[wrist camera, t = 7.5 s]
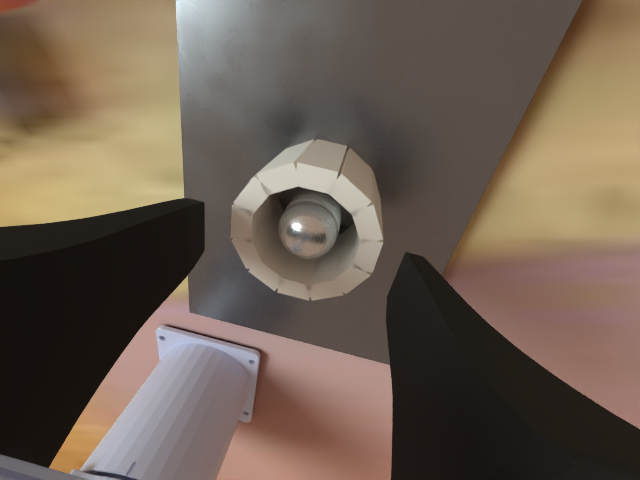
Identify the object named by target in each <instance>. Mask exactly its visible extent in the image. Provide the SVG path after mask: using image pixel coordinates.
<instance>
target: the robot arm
mask: <svg viewBox="0 0 640 480" xmlns="http://www.w3.org/2000/svg"><path fill="white" fill-rule="evenodd" d="M204 251H205V202H202V201H198V200H194V199H190V198H183V199H176V200H171V201H166V202H161V203H157V204H152V205H148V206H143V207H139V208H134V209H130V210H125V211H120V212H115V213H110V214H105V215H100V216H95V217H89V218H83V219H76V220H69V221H61V222H53V223H45V224H34V225H21V226H8V227H0V480H216V479H217V476H218V473H219V471H220V468H221V466H222V463H223V460H224V458H225V455H226V453H227V450H228V447H229V445H230V442H231V440H232V437H233V434H234V432H235V429H236V427H237V424H238V421H242V422H246V423H248V422H250V421H251V419H252V414H253V407H254V400H255V392H256V385H257V378H258V371H259V364H260V357H261V355H260V353H259V352H258V351H257V350H254V349H251V348H247V347H243V346H239V345H236V344H232V343H228V342H224V341H221V340H217V339H213V338H209V337H205V336H202V335H198V334H194V333H190V332H187V331H183V330H179V329H175V328H172V327H168V326H163V325H161V326H159V327H158V328H157V330H156V336H157V344H158V351H159V359H160V362H159V363H158V365H157V366H156V367H155V369H154V370H153V371H152V373H151V374H150V375H149V377H148V378H147V379H146V381H145V382H144V384H143V385H142V386H141V388H140V389H139V390H138V392H137V393H136V394H135V396H134V397H133V398H132V400H131V401H130V402H129V404H128V405H127V407H126V408H125V409H124V411H123V412H122V413H121V415H120V416H119V417H118V419H117V420H116V421H115V423H114V424H113V425H112V427H111V428H110V430H109V431H108V432H107V434H106V435H105V436H104V438H103V439H102V440H101V442H100V443H99V444H98V446H97V447H96V448H95V450H94V451H93V453H92V454H91V455H90V457H89V458H88V459H87V461H86V462H85V463H84V465H83V466H82V467H81V469H80V470H77V469H73V470H72V471H71V473H70V474H67V473H64V472H60V471H57V470H53V469H50V468H49V466H50V465H51V463H52V461H53V459H54V458H55V456H56V454H57V453H58V451H59V449H60V448H61V446H62V444H63V443H64V441H65V439H66V438H67V436H68V434H69V433H70V431H71V429H72V428H73V426H74V424H75V423H76V421H77V419H78V418H79V416H80V415H81V413H82V412H83V410H84V409H85V407H86V406H87V404H88V402H89V401H90V399H91V398H92V396H93V395H94V393H95V392H96V390H97V389H98V387H99V385H100V384H101V382H102V381H103V380H104V378H105V377H106V375H107V374H108V372H109V371H110V369H111V368H112V367H113V365H114V364H115V362H116V361H117V359H118V358H119V356H120V355H121V354H122V352H123V351H124V349H125V348H126V347H127V345H128V344H129V343H130V341H131V340H132V339H133V337H134V336H135V335H136V333H137V332H138V330H139V329H140V328H141V327H142V326H143V324H144V323H145V322H146V321H147V320H148V318H149V317H150V316H151V315H152V314H153V313H154V312H155V311H156V310H157V308H158V307H159V306H160V305H161V304H162V303H163V302H164V301H165V300H166V299H167V298H168V296H169V295H170V294H171V293H172V292H173V291H174V290H175V289H176V288H177V287H178V285H179V284H180V283H181V282H182V281H183V280H184V279H185V278H186V277H187V275H188V274H189V273H190V272H191V271H192V269H193V268H194V266H195V265H196V263H197V262H198V260H199V259H200V257H201V256H202V254H203V253H204ZM386 328H387V339H388V349H389V358H390V368H391V378H392V393H393V431H392V470H391V480H640V429H638V428H637V427H635V426H633V425H632V424H630V423H628V422H626V421H625V420H623V419H621V418H620V417H618V416H616V415H614V414H613V413H611V412H610V411H608V410H606V409H605V408H603V407H602V406H600V405H599V404H597V403H595V402H594V401H592V400H591V399H589V398H588V397H586V396H585V395H583V394H581V393H580V392H578V391H577V390H575V389H574V388H572V387H571V386H569V385H568V384H566V383H565V382H563V381H562V380H561V379H559V378H558V377H556V376H555V375H553V374H552V373H550V372H549V371H548V370H546V369H545V368H544V367H542V366H541V365H539V364H538V363H537V362H535V361H534V360H533V359H531V358H530V357H529V356H527V355H526V354H525V353H523V352H522V351H521V350H519V349H518V348H517V347H516V346H514V345H513V344H512V343H511V342H510V341H508V340H507V339H506V338H505V337H504V336H502V335H501V334H500V333H499V332H498V331H496V330H495V329H494V328H493V327H492V326H491V325H490V324H488V323H487V322H486V321H485V320H484V319H483V318H482V317H481V316H480V315H479V314H478V313H477V312H476V311H475V310H474V309H473V308H472V307H471V306H470V305H468V304H467V302H466V301H465V300H464V299H463V298H462V297H461V296H460V295H459V294H458V293H457V292H456V291H455V290H454V289H453V288H452V287H451V286H450V285H449V283H448V282H447V281H446V280H445V279H444V278H443V277H442V276H441V275H440V273H439V272H438V271H437V270H436V269H435V268H434V267H433V266H432V265H431V264H430V263H429V262H428V261H427V260H426V259H425V258H424V257H423V256H420V255H416V254H412V253H408V252H405V254H404V256H403V259H402V261H401V264H400V266H399V269H398V271H397V273H396V276H395V278H394V281H393V283H392V286H391V288H390V290H389V293H388V295H387V305H386Z"/></svg>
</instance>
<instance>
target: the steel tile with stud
mask: <svg viewBox="0 0 640 480" xmlns="http://www.w3.org/2000/svg"><path fill="white" fill-rule="evenodd" d="M581 2H582V0H176V17H177V39H178V62H179V84H180V107H181V129H182V152H183V174H184V197H185V198H190V199H194V200H198V201H202V202H205V251H204V253H203V254H202V256H201V257H200V259H199V260H198V262H197V263H196V265H195V266H194V268H193V269H192V271H191V272H190V273H189V274H188V287H189V309H190V312H191V313H194V314H198V315H202V316H206V317H210V318H213V319H217V320H221V321H225V322H229V323H232V324H236V325H240V326H244V327H248V328H251V329H255V330H259V331H263V332H267V333H270V334H274V335H278V336H282V337H286V338H290V339H293V340H297V341H301V342H305V343H309V344H312V345H316V346H320V347H324V348H328V349H331V350H335V351H339V352H343V353H347V354H350V355H354V356H358V357H362V358H366V359H369V360H373V361H377V362H381V363H385V364H388V365H390V358H389V349H388V339H387V328H386V305H387V295H388V293H389V290H390V288H391V286H392V283H393V281H394V278H395V276H396V273H397V271H398V269H399V266H400V264H401V261H402V259H403V256H404V254H405V252H408V253H412V254H416V255H420V256H423V257H424V258H425V259H426V260H427V261H428V262H429V263H430V264H431V265H432V266H433V267H434V268H435V269H436V270H437V271H438V272H439V273H440V275H442V273H443V271H444V269H445V267H446V265H447V263H448V261H449V259H450V257H451V255H452V254H453V252H454V250H455V248H456V246H457V244H458V242H459V240H460V238H461V236H462V234H463V232H464V230H465V228H466V226H467V224H468V222H469V220H470V218H471V216H472V215H473V213H474V211H475V209H476V207H477V205H478V203H479V201H480V199H481V197H482V195H483V193H484V191H485V189H486V187H487V185H488V183H489V181H490V179H491V177H492V176H493V174H494V172H495V170H496V168H497V166H498V164H499V162H500V160H501V158H502V156H503V154H504V152H505V150H506V148H507V146H508V144H509V142H510V140H511V138H512V137H513V135H514V133H515V131H516V129H517V127H518V125H519V123H520V121H521V119H522V117H523V115H524V113H525V111H526V109H527V107H528V105H529V103H530V101H531V99H532V98H533V96H534V94H535V92H536V90H537V88H538V86H539V84H540V82H541V80H542V78H543V76H544V74H545V72H546V70H547V68H548V66H549V64H550V62H551V60H552V59H553V57H554V55H555V53H556V51H557V49H558V47H559V45H560V43H561V41H562V39H563V37H564V35H565V33H566V31H567V29H568V27H569V25H570V23H571V21H572V20H573V18H574V16H575V14H576V12H577V10H578V8H579V6H580V4H581ZM313 139H314V140H315V141H316V140H317V139H320V140H324V141H328V142H332V143H337V144H341V145H345V146H347V149H346V151H347V150H348V149H349V148H351V149H352V150H353V151H354V152H355V153H356V154H357V155H358V156H359V157H360V158H361V159H362V160H363V161H365V162H366V163H367V164H368V165H369V166H370V167H371V168H372V171H373V172H374V175H375V179H376V183H377V187H378V191H379V195H380V199H381V213H382V228H383V245H382V248H381V251H380V253H379V256H378V259H377V262H376V265H375V268H374V270H373V273H371V276H369V277H368V278H367V279H365V280H364V281H363V282H362V283H360V284H359V285H358V286H356V287H355V288H354V289H352V290H351V291H350V292H348V293H347V294H345V293H343V296H337V297H331V298H325V299H319V300H313V301H312V300H311V297H310V298H309V301H308V300H305V299H301V298H297V297H293V296H289V295H285V294H281V293H277V291H278V288H277V289H276V290H275V291H274V290H272V289H271V288H270V287H268V286H267V285H266V284H264V283H263V282H262V281H260V280H259V279H258V278H256V277H255V276H254V275H252V274H251V273H250V272H248V271H249V270H250V268H249V269H246V268H245V266H244V264H243V262H242V260H241V258H240V256H239V254H238V252H237V251H236V249H235V247H234V245H233V243H232V239H233V238H231V216H232V205H233V204H234V203H233V202H234V201H235V200H236V198H237V197H238V196H239V194H240V193H241V192H242V191H243V189H244V188H245V187H246V185H247V184H248V183H249V181H250V180H251V179H252V178H253V176H254V175H256V174H257V173H258V172H259V171H260V170H261V169H262V168H264V167H265V166H266V165H267V164H268V163H269V162H271V161H272V160H273V159H274V158H275V157H276V156H278V155H279V154H280V153H281V152H282V151H283V150H285V149H286V148H289V147H292V146H295V145H298V144H301V143H304V142H307V141H310V140H313ZM279 201H280V204H281V206H282V209H283V211H284V212H283V214H282V216H281V218H280V221H279V226H278V231H279V237H280V240H281V242H282V244H283V246H284V247H285V248H286V250H287V251H289V252H290V253H291V254H292V255H294V256H296V257H299V258H303V259H315V258H318V257H321V256H323V255H325V254H326V253H327V252H329V251H330V250H331V248H332V247H333V246H334V244H335V242H336V240H337V237H338V234H342V233H343V232H344V231H346V230H347V229H348V228H349V227H350V226H351V225H352V224H353V223H354V220H353V216H352V214H351V213H350V212H348V211H347V210H346V209H345V208H344V207H343V206H342V205H341V204H340V203H338V202H337V201H336V200H335V199H334V198H333V197H332V196H331V195H329V194H327V193H323V192H319V191H315V190H311V189H306V188H302V187H294V188H291V189H287V190H284V191H281V192H280V199H279Z"/></svg>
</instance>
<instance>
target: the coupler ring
mask: <svg viewBox="0 0 640 480" xmlns="http://www.w3.org/2000/svg"><path fill="white" fill-rule="evenodd" d="M346 149H347V146H345V145H341V144H337V143H332V142H328V141H324V140H320V139H317V140H316V141H315V140H314V139H313V140H310V141H307V142H304V143H301V144H298V145H295V146H292V147H289V148H286V149H285V150H283V151H282V152H281V153H280V154H279V155H278V156H276V157H275V158H274V159H273V160H272V161H271V162H269V163H268V164H267V165H266V166H265V167H264V168H262V169H261V170H260V171H259V172H258V173H257V174H256V175H254V176H253V178H252V179H251V180H250V181H249V183H248V184H247V185H246V187H245V188H244V189H243V191H242V192H241V193H240V194H239V196H238V197H237V198H236V200H235V201H234V202H233V203H234V204H233V205H232V216H231V238H233V239H232V243H233V245H234V247H235V249H236V251H237V252H238V254H239V256H240V258H241V260H242V262H243V264H244V266H245V268H246V269H249V268H250V270H249V271H248V272H250V273H251V274H252V275H254V276H255V277H256V278H258V279H259V280H260V281H262V282H263V283H264V284H266V285H267V286H268V287H270V288H271V289H272V290H274V291H275V290H276V289H277V288H278V291H277V293H281V294H285V295H289V296H293V297H297V298H301V299H305V300H308V301H309V298H310V297H311V300H312V301H313V300H319V299H325V298H331V297H337V296H343V293H345V294H347V293H348V292H350V291H351V290H352V289H354V288H355V287H356V286H358V285H359V284H360V283H362V282H363V281H364V280H365V279H367V278H368V277H369V276H371V273H373V270H374V268H375V265H376V262H377V259H378V256H379V253H380V251H381V248H382V245H383V228H382V213H381V199H380V195H379V191H378V187H377V183H376V179H375V175H374V172H373V171H372V168H371V167H370V166H369V165H368V164H367V163H366V162H365V161H363V160H362V159H361V158H360V157H359V156H358V155H357V154H356V153H355V152H354V151H353V150H352V149H351V148H349V149H348V150H347V151H346ZM294 187H302V188H306V189H311V190H315V191H319V192H323V193H327V194H329V195H331V196H332V197H333V198H334V199H335V200H336V201H337V202H338V203H340V204H341V205H342V206H343V207H344V208H345V209H346V210H347V211H348V212H350V213H351V214H352V216H353V220H354V223H353V224H352V225H351V226H350V227H349V228H348V229H347V230H346V231H344V232H343V233H342V234H338V237H337V240H336V242H335V244H334V246H333V247H332V248H331V250H330V251H329V252H327V253H326V254H325V255H323V256H321V257H318V258H315V259H303V258H299V257H296V256H294V255H292V254H291V253H290V252H289V251H287V250H286V248H285V247H284V246H283V244H282V242H281V240H280V237H279V231H278V226H279V221H280V218H281V216H282V214H283V212H284V211H283V209H282V206H281V204H280V201H279V199H280V192H281V191H284V190H287V189H291V188H294Z"/></svg>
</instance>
